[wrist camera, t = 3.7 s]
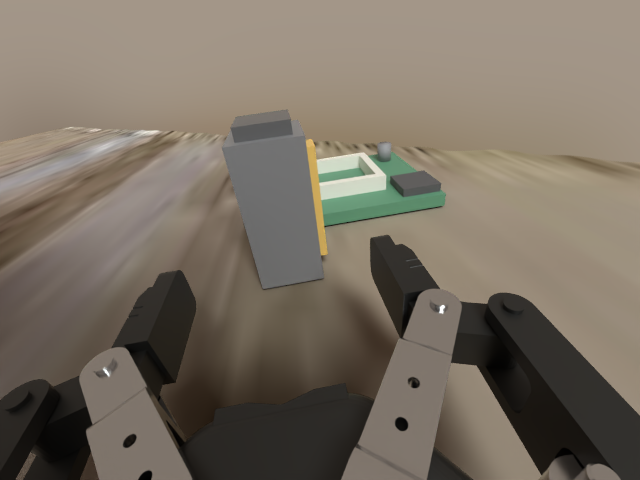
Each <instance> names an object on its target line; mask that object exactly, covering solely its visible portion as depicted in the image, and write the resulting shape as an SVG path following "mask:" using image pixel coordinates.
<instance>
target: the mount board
mask: <svg viewBox="0 0 640 480" xmlns="http://www.w3.org/2000/svg"><path fill="white" fill-rule="evenodd" d="M317 168H318V177H319V185H320V194H321V202H322V211H323V219H324V226H327V225H333V224H338V223H344V222H350V221H356V220H362V219H368V218H374V217H379V216H385V215H391V214H397V213H403V212H409V211H415V210H421V209H426V208H432V207H438V206H444V204H445V196H446V194H445V193H444V192H443V191H442V190H440V188H441V183H440V182H439V181H437V180H436V179H435V178H433V177H432V176H431V175H429V174H428V173H427V172H425V171H418V172H417V171H416V170H415V169H414V168H412V167H411V166H410V165H409V164H407V163H406V162H405V161H403V160H402V159H401V158H400V157H398V156H397V155H396V154H395V153H393V152H391V143H390V142H380V143H378V154H376V155H370V156H367V155H366V154H365V153H364V152H363V153H357V154H350V155H344V156H338V157H331V158H325V159H318V160H317Z"/></svg>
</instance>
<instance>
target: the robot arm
mask: <svg viewBox="0 0 640 480" xmlns="http://www.w3.org/2000/svg"><path fill="white" fill-rule="evenodd" d="M370 262H371V273H372V277H373V280H374V282H375V284H376V286H377V288H378V291H379V293H380V295H381V297H382V299H383V302H384V304H385V306H386V308H387V310H388V312H389V315H390V317H391V319H392V321H393V323H394V326H395V328H396V330H397V332H398V334H399V336H400V338H399V340H398V342H397V344H396V347H395V349H394V352H393V355H392V357H391V360H390V362H389V365H388V368H387V370H386V373H385V375H384V378H383V381H382V383H381V386H380V388H379V391H378V394H377V396H376V399H375V400H373V399H371V398H369V397H366V396H363V395H359V394H354V393H347V389H346V384H345V383H343V384H338V385H333V386H328V387H323V388H318V389H314V390H312V391H309V392H307V393H305V394H303V395H301V396H299V397H297V398H295V399H293V400H291V401H289V402H287V403H284V404H281V405H275V404H260V403H244V404H239V405H234V406H229V407H224V408H219V409H215V415H214V421H213V422H211V423H209V424H207V425H206V426H204V427H202V428H201V429H200V430H198V431H197V432H196V433H194V434H193V435H192V436H191V437H190V438H189V439H188V440H187V439H186V437H185V435H184V434H183V432H182V431H181V429H180V427H179V425H178V423H177V422H176V420H175V418H174V416H173V415H172V413H171V411H170V409H169V408H168V406H167V404H166V402H165V400H164V399H163V397H162V396H161V394H160V391H161V388H162V385H165V384H170V383H175V382H176V378H177V375H178V371H179V368H180V364H181V361H182V357H183V354H184V351H185V347H186V344H187V340H188V337H189V333H190V330H191V326H192V323H193V319H194V316H195V312H196V301H195V297H194V295H193V293H192V291H191V288H190V286H189V284H188V282H187V280H186V278H185V276H184V274H183V272H182V271H181V270H177V271H171V272H166V273H161V274H159V276H158V278H157V280H156V282H155V284H154V286H153V287H150V288H148V289H147V290H146V291H145V292H144V293H143V294H142V295H141V296H140V297H139V298H138V300H137V301H136V303H135V305H134V307H133V310H132V311H131V313H130V314H129V318H127V320H126V322H125V324H124V326H123V327H122V329H121V331H120V333H119V335H118V337H117V339H116V340H115V342H114V344H113V346H112V348H111V349H108V350H106V351H104V352H102V353H100V354H98V355H97V356H95V357H94V358H93V359H92V360H91V361H90V362H88V364H87V365H86V366H85V367H84V368H83V370H82V372H81V374H80V376H77V377H75V378H73V379H70V380H68V381H66V382H63V383H61V384H59V385H57V386H54V387H53V386H51V385H50V384H49V383H48V382H47V381H46V380H42V379H38V380H33V381H30V382H27V383H25V384H23V385H21V386H19V387H17V388H15V389H14V390H12V391H11V392H10V393H8V394H7V395H6V396H5V397H3V398H2V399H1V400H0V480H15V479H16V477H17V475H18V474H19V472H20V470H21V468H22V466H23V465H24V463H25V461H26V459H27V457H28V455H29V454H30V452H32V453H34V454H35V455H36V457H35V459H34V461H33V463H32V465H31V467H30V468H29V470H28V472H27V474H26V476H25V478H24V480H80V477H81V475H82V472H83V470H84V467H85V465H86V462H87V460H88V457H89V455H90V452H92V456H93V460H94V463H95V467H96V470H97V474H98V477H99V480H473V479H472V478H471V477H469V476H468V475H467V474H466V473H464V472H463V471H462V470H461V469H460V468H458V467H457V466H456V465H455V464H454V463H452V462H451V461H450V460H449V459H448V458H446V457H445V456H444V455H443V454H442V453H440V452H439V451H438V450H437V449H436V448H434V442H435V437H436V432H437V428H438V423H439V418H440V413H441V408H442V403H443V398H444V394H445V389H446V384H447V379H448V374H449V369H450V364H451V363H459V364H468V365H477V367H478V368H479V370H480V372H481V374H482V375H483V377H484V379H485V380H486V382H487V384H488V385H489V387H490V389H491V390H492V392H493V394H494V396H495V397H496V399H497V401H498V402H499V404H500V406H501V407H502V409H503V411H504V413H505V414H506V416H507V418H508V419H509V421H510V423H511V424H512V426H513V428H514V429H515V431H516V433H517V435H518V436H519V438H520V440H521V441H522V443H523V445H524V446H525V448H526V450H527V451H528V453H529V455H530V457H531V458H532V460H533V462H534V463H535V465H536V467H537V468H538V470H539V472H540V474H541V475H542V476H541V477H540V478H539V480H640V415H639V414H638V413H637V412H636V411H635V410H634V409H633V408H632V407H631V406H630V405H629V404H628V403H627V402H626V401H625V400H624V399H623V398H622V397H621V396H620V395H619V393H618V392H617V391H616V390H615V389H614V388H613V387H612V386H611V385H610V384H609V383H608V382H607V381H606V380H605V379H604V378H603V377H602V376H601V375H600V374H599V373H598V372H597V370H596V369H595V368H594V367H593V366H592V365H591V364H590V363H589V362H588V361H587V360H586V359H585V358H584V357H583V356H582V355H581V354H580V353H579V352H578V351H577V350H576V348H575V347H574V346H573V345H572V344H571V343H570V342H569V341H568V340H567V339H566V338H565V337H564V336H563V335H562V334H561V333H560V332H559V331H558V330H557V329H556V328H555V327H554V325H553V324H552V323H551V322H550V321H549V320H548V319H547V318H546V317H545V316H544V315H543V314H542V313H541V312H540V311H539V310H538V309H537V308H536V307H535V306H534V305H533V304H532V303H531V302H530V301H528V300H527V299H525V298H523V297H521V296H519V295H516V294H511V293H497V294H494V295H492V296H491V297H490V298H489V300H488V303H487V304H481V303H467V302H461V301H460V300H459V299H458V298H457V297H456V296H455V295H454V294H452V293H450V292H448V291H445V290H442V289H440V288H439V287H438V285H437V284H436V282H435V281H434V280H433V278H432V277H431V276H430V274H429V273H428V271H427V270H426V269H425V267H424V266H422V263H421V262H420V260H419V259H418V258H417V256H416V255H415V253H414V252H413V251H412V250H411V249H410V248H408V247H406V246H405V245H403V244H399V245H395V244H394V242H393V241H392V239H391V237H390V236H389V235H384V236H378V237H372V238H371V239H370Z"/></svg>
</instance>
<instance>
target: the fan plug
mask: <svg viewBox="0 0 640 480" xmlns="http://www.w3.org/2000/svg"><path fill="white" fill-rule="evenodd" d="M222 150H223V153H224V157H225V160H226V164H227V167H228V171H229V174H230V177H231V181H232V184H233V188H234V191H235V195H236V198H237V202H238V205H239V208H240V212H241V215H242V219H243V222H244V226H245V229H246V232H247V236H248V239H249V243H250V246H251V250H252V253H253V257H254V260H255V263H256V267H257V270H258V274H259V277H260V281H261V284H262V287H263V289H267V288H273V287H278V286H284V285H289V284H295V283H300V282H306V281H311V280H317V279H322V278H324V274H323V267H322V259H321V255H327V254H328V253H327V245H326V236H325V228H324V219H323V211H322V202H321V194H320V185H319V177H318V168H317V160H316V151H315V145H314V143H313V141H312V139H310V140H306V139H305V135H304V132H303V130H302V128H301V125H300V123H299V121H298V120H294V121H291V119H290V116H289V113H288V110H281V111H274V112H267V113H260V114H253V115H246V116H239V117H236V118H235V120H234V122H233V124H232V126H231V131H230V133H229V135H228V137H227V139H226V141H225V143H224V145H223V147H222Z"/></svg>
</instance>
